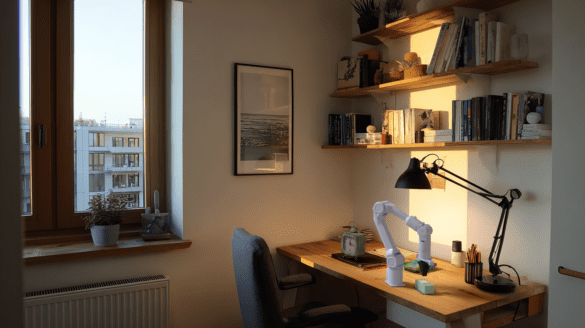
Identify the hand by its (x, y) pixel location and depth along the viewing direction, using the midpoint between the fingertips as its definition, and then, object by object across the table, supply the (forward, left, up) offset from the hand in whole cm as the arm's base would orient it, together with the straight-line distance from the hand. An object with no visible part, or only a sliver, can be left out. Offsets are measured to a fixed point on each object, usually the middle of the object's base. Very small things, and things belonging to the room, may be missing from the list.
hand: (424, 275), depth 208 cm
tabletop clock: (-63, -16, -8) cm, 65 cm away
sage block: (+6, 0, -5) cm, 8 cm away
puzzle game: (-36, +15, -8) cm, 40 cm away
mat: (0, 0, -7) cm, 7 cm away
